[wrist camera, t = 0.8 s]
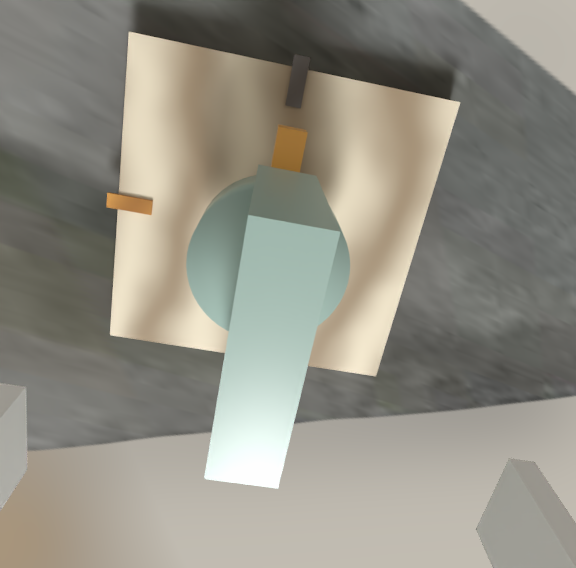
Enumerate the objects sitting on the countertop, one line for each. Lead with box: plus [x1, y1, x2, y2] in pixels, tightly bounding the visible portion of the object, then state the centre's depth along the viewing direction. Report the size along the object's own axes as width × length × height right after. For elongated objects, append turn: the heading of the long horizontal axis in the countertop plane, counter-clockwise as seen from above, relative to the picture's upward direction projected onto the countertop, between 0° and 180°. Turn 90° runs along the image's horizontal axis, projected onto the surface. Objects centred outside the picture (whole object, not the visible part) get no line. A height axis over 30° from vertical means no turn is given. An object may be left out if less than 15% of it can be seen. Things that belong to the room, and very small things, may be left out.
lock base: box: [107, 32, 460, 376], centre depth 33 cm, size 22×22×6 cm
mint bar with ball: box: [186, 124, 350, 488], centre depth 24 cm, size 9×13×14 cm
